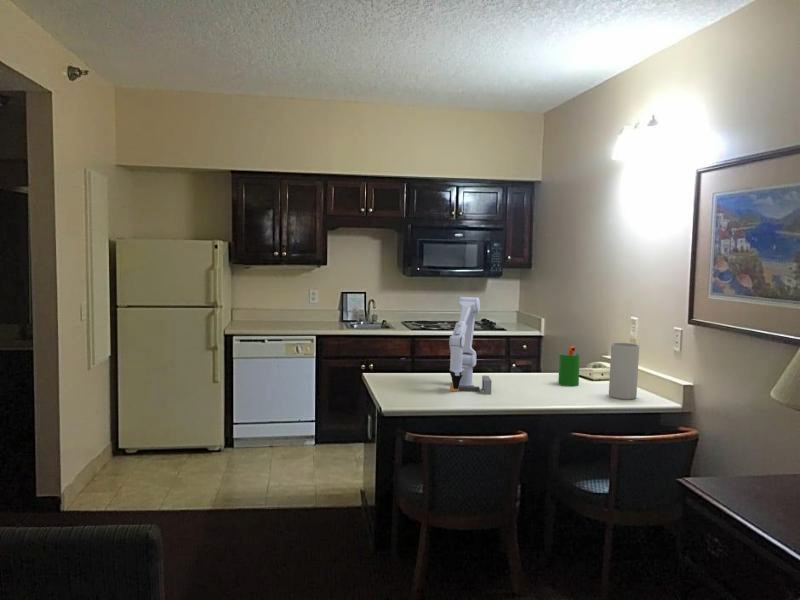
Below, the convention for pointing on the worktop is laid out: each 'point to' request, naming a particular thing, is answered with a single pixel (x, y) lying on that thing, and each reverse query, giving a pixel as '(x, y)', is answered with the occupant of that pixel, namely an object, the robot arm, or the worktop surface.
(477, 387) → the plug
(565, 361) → the green upright cylinder
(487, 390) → the bracket
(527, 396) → the worktop surface
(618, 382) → the cylinder vase
